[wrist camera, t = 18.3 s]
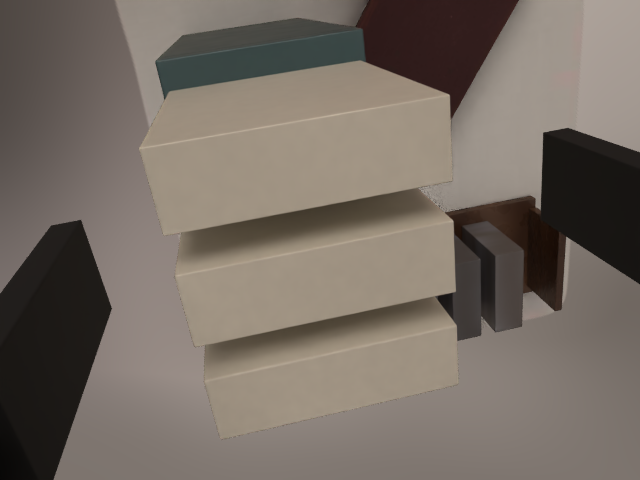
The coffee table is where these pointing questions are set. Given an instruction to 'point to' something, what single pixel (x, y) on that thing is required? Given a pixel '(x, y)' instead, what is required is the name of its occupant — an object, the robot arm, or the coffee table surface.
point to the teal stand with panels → (311, 269)
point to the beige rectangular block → (293, 144)
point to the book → (433, 39)
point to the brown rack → (502, 265)
